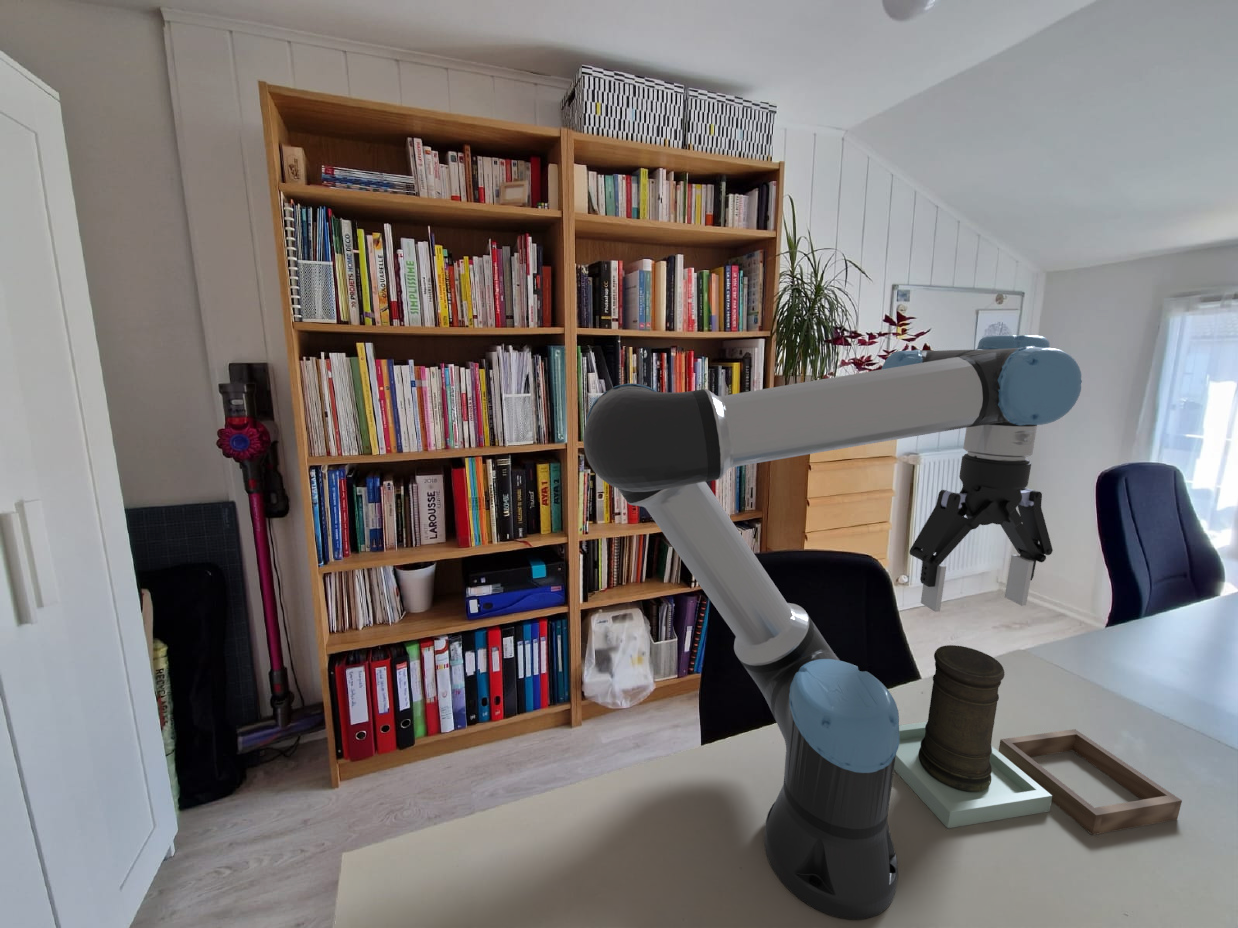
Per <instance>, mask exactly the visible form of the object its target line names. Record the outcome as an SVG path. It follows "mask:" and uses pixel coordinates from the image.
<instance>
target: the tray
mask: <svg viewBox="0 0 1238 928" xmlns="http://www.w3.org/2000/svg"><path fill="white" fill-rule="evenodd" d="M927 722H928V721H924V722H923V721H922V722H916V723H915V722H913V723H908V724H907V723H906V724H899V735H900V737H899V747H898V750H897V752H896V758H895V765H894V772H896V774H897V775H899V777H901V779H903V781H904V782H905V783H906V784H907V785H908V786H909V788H910V789H911V790H912V791H913V792H914V793H915V795H917V797H918V798H920V800H921V801H922V802H923V804H924V805H926V806H927V808H928V809H929V810H930V811H931V812H932V813H933V814H934V815H935V816H936V817H937V818H938V819H939V820H940V822H941V823H942V824H943V825H944V826H945V827H946V828H947V829H951V828H957V827H958V828H959V827H964V826H969V825H970V826H971V825H976V824H983V823H987V822H994V821H999V820H1007V819H1011V818H1017V817H1024V816H1029V815H1030V816H1031V815H1036V814H1041V813H1047V812H1050V810H1051V804H1052V801H1051V800H1052V795H1051V794H1050V793H1048V792H1047V791H1046V790H1045V789H1044V788H1042V787H1041V786H1040V785H1039V784H1038V783H1036V782H1035V781H1034V780H1033V779H1031V778H1030V777H1029V776H1028V775H1027V774H1025V773H1024V772H1023V771H1022V770H1020V769H1019V768H1018V767H1017V766H1016V765H1014V764H1013V763H1012V762H1011V761H1010V760H1008V759H1007V758H1006V757H1005V756H1003V755H1002V754H1001V753H1000V752H999V750H997V748H995V746H992V745H991V747H992V753H991V755H990V761H989V762H990V764H991V767H992V772H991V783H990V785H989V787H988V788H987V789H986V790H983V791H980V792H966V791H961V790H957V789H954V788H952V787H949V786H947V785H945V784H943V783H941V782H939V781H938V780H936V779H935V778H933V777H932V776H931V775H930V774H929V773H927V771H926V770H925V769H924V768H923V767H922V765H921V763H920V760H919V749H920V747H921V741H922V739H923V738H924V737H925V726H926V724H927Z"/></svg>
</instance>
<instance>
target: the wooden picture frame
mask: <svg viewBox="0 0 1238 928" xmlns="http://www.w3.org/2000/svg"><path fill="white" fill-rule="evenodd" d="M998 745H999V746H998V751H999V752H1000V753H1001V754H1002V755H1003V756H1005V757H1006V758H1007V759H1008V760H1010V761H1011V762H1012V763H1013V764H1014V765H1016V766H1017V767H1018V768H1019V769H1020V770H1022V771H1023V772H1024V773H1025V774H1027V775H1028V776H1029V777H1030V778H1031V779H1033V780H1034V781H1035V782H1036V783H1038V784H1039V785H1040V786H1041V787H1042V788H1044V789H1045V790H1046V791H1047V792H1048V793H1050V794H1051V795H1052V800H1051V803H1053V804H1054V805H1056V806H1057V807H1058V808H1059V809H1060V810H1061V811H1063V812H1064V813H1065V814H1066V815H1067V816H1069V817H1070V819H1072V820H1074V821H1075V822H1076V823H1077V824H1078V825H1080V826H1081V827H1082V828H1083V829H1084V830H1086V831H1087V832H1088V833H1089V834H1090V835H1092V836H1093V835H1098V834H1099V835H1100V834H1104V833H1109V832H1115V831H1120V830H1127V829H1131V828H1137V827H1143V826H1148V825H1154V824H1155V825H1156V824H1161V823H1166V822H1170V821H1176V820H1178V818H1179V814H1180V809H1181V806H1182V803H1183V800H1182V799H1181V798H1179V797H1178V796H1176V795H1175V794H1173V793H1172V792H1170V791H1169V790H1167V789H1165V788H1164V787H1162V786H1161V785H1160V784H1158V783H1157V782H1155V781H1154V780H1152V779H1151V778H1149V777H1148V776H1146V775H1145V774H1144V773H1142V772H1141V771H1138V770H1137V769H1135V768H1134V767H1133V766H1131V765H1129V764H1128V763H1126V762H1125V761H1123V759H1121V758H1119V757H1117V756H1116V755H1115V754H1113V753H1112V752H1110V751H1108V749H1106V748H1105V747H1103V746H1101V745H1100V744H1098V743H1097V742H1096V741H1094V740H1092V739H1091V738H1089V737H1087V735H1084V734H1083V733H1082V732H1080V731H1079V730H1077V729H1076V728H1075V729H1074V728H1073V729H1066V730H1060V731H1059V730H1058V731H1053V732H1052V731H1051V732H1044V733H1038V734H1030V735H1021V736H1014V737H1007V738H1000V739H999V744H998ZM1068 752H1074V753H1076V755H1078V756H1080V757H1081V758H1082V759H1084V760H1085V761H1087V762H1088V763H1090V765H1092V766H1094V767H1095V768H1097V769H1098V770H1100V771H1101V772H1102V773H1104V774H1105V775H1106V776H1108V778H1110V779H1112V780H1114V781H1115V782H1116V783H1117V784H1119V785H1120V786H1122V787H1123V788H1124V789H1126V790H1127V791H1129V792H1130V793H1132V794H1133V795H1134V796H1136V797H1138V799H1139V800H1133V801H1127V802H1122V803H1114V804H1109V805H1104V806H1103V805H1102V806H1097V807H1094V806H1093V805H1091V804H1090V803H1089V802H1088V801H1087V800H1085V799H1084V798H1082V797H1081V796H1080V795H1079V794H1078V793H1076V792H1075V791H1074V790H1072V789H1071V788H1070V787H1068V786H1067V785H1066V784H1065V783H1064V782H1062V781H1061V780H1060V779H1058V778H1057V777H1056V776H1055V775H1054V774H1052V773H1051V772H1050V771H1048V770H1047V769H1046V768H1044V767H1043V766H1042V765H1040V764H1039V763H1038V762H1037V761H1035V760H1034V759H1033V758H1034V757H1039V756H1046V755H1054V754H1058V753H1059V754H1060V753H1068ZM1032 757H1033V758H1032Z"/></svg>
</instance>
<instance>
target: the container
mask: <svg viewBox="0 0 1238 928" xmlns="http://www.w3.org/2000/svg"><path fill="white" fill-rule="evenodd" d="M933 657H934V661H935V662H934V666H935V671H934V674H933V676H932V681H933V683H932V688H931V693H930V694H931V695H930V702H929V703H930V704H929V709H928V718H927V721H926V722H927V724H926V726H925V737H924V738H923V739H922V741H921V747H920V749H919V760H920V763H921V765H922V767H923V768H924V769H925V770H926V771H927V773H929V774H930V775H931V776H932V777H933V778H935V779H936V780H938V781H939V782H941V783H943V784H945V785H947V786H949V787H952V788H954V789H957V790H961V791H966V792H980V791H983V790H986V789H987V788H988V787H989V785H990V783H991V772H992V767H991V764H990V762H989V761H990V755H991V753H992V747H991V746H992V739H993V731H994V726H995V720H996V719H995V718H996V714H997V707H998V701H999V698H1000V696H999V688H1000V686H1001V684H1002V681H1003V679H1004V678H1005V670H1004V667H1003V665H1002V664H1001V663H1000V661H999V660H997V659H996V658H994V657H993V656H991V655H990V654H988V653H985V652H983V651H981V650H977V649H975V648H971V647H967V646H962V645H956V644H955V645H954V644H953V645H952V644H949V645H941V646H940V647H938V648H937V649H936V650H935V651H934V654H933Z"/></svg>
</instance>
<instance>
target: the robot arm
mask: <svg viewBox="0 0 1238 928" xmlns="http://www.w3.org/2000/svg"><path fill="white" fill-rule="evenodd" d="M1082 382H1083V380H1082V371H1081V369H1080V366H1079V364H1078V363H1077V361H1076V360H1075V358H1073V356H1071V354H1069V353H1068V352H1066V351H1063V350H1061V349H1058V348H1055V347H1054V348H1052V347H1051V345H1050V342H1049V340H1048V339H1047V337H1044V336H1043V335H1036V334H1035V335H1031V334H1029V335H1026V334H1025V335H1019V334H1018V335H1014V334H1013V335H989V336H984V337H982V338H981V339H980V340H979V342H978V344H977V348H975V349H950V350H949V349H948V350H947V349H945V350H930V349H929V350H927V349H925V350H924V349H923V350H921V349H914V350H898V351H895V352H893V353H891V354H890V355H889V356H888V357H887V358H886V359H885V361H884V362H883V364H882V367H881V369H876V370H871V371H866V372H859V373H851V374H847V375H841V376H834V377H829V378H823V379H816V380H810V381H804V382H799V383H793V384H786V385H780V386H775V387H768V388H762V389H757V390H756V389H755V390H750V391H743V392H738V393H731V394H725V395H720V396H719V395H716V394H715V393H713V392H711V390H709V389H707V388H702V389H695V390H690V391H681V392H678V391H677V392H665V391H664V392H663V391H661V392H660V391H656V390H655V389H653V388H652V387H650V386H646V385H643V384H639V383H624V384H618V385H615V386H613V387H612V388H611V389H609V390H605V391H604V392H603V393H602V394H601V395H600V396H599V397H597V398H596V399H595V400H594V402H593V403H592V405H591V406H590V407H589V411H588V413H587V416H586V420H585V426H584V430H583V436H582V438H583V440H582V441H583V449H584V454H585V457H586V460H587V462H588V464H589V466H590V467H591V469H592V471H593V472H594V473H595V474H596V476H598V477H599V479H601V480H603V482H604V483H606V484H608V485H610V486H611V487H613V488H616V489H617V490H618V491H619V493H620V494H621V496H622V497H623V498H624V500H625V501H626V503H627V504H628V505H630V506H634V507H636V506H637V507H643V508H644V509H645V510H646V511H647V512H648V514H649V515H650V517H652V518H651V519H652V520H653V521H654V522H655V524H656V525H657V527H658V528H659V529H660V531H661V532H662V533H663V535H664V536H665V538H666V540H667V541H668V542H669V544H670V545H671V546H672V548H673V549H674V551H675V552H676V554H677V555H678V556H679V558H680V559H681V561H682V562H683V564H684V565H685V566H686V568H687V569H688V570H689V572H690V573H691V576H693V578H694V579H695V580H696V582H697V583H698V584H699V587H700V588H701V589H702V591H704V593H705V595H706V596H707V597H708V599H709V600H710V602H711V603H712V604H713V606H714V607H715V608H716V611H718V613H719V615H720V616H721V618H722V619H723V621H724V622H725V623H726V624H727V626H728V627H729V628H730V630H731V632H732V633H733V635H734V636H735V638H734V642H733V643H734V644H733V650H734V653H735V655H736V657H737V658H738V660H739V662H740V663H741V665H742V666H743V667H744V669H745V670H746V671H747V673H748V674H749V675H750V677H751V679H752V680H753V682H754V683H755V684H756V685H757V687H758V689H759V690H760V692H761V693H762V696H763V697H764V698H765V701H766V703H767V704H768V707H769V710H770V711H771V714H772V716H773V718H774V720H775V722H776V725H777V727H778V728H779V730H780V732H781V734H782V738H783V739H784V743H785V759H784V772H783V785H782V786H781V789H780V791H779V793H778V795H777V797H776V799H775V801H774V803H773V804H772V805H771V806H770V809H769V811H768V812H767V815H766V820H765V825H764V840H763V842H764V850H765V854H766V857H767V860H768V862H769V864H770V866H771V869H772V870H773V872H774V873H775V875H776V877H778V879H779V881H780V882H781V883H782V884H783V885H784V886H785V887H786V888H787V890H789V892H791V894H793V895H794V896H796V897H797V898H798V899H799V900H800V901H802V902H803V903H804V904H806V905H808V906H810V907H812V908H813V909H815V910H817V911H819V912H821V913H824V914H827V915H829V916H832V917H835V918H840V919H845V920H864V919H865V920H866V919H869V918H872V917H876V916H878V915H879V914H881V913H882V912H884V911H886V910H887V908H888V907H889V906H890V905H891V904H892V902H893V899H894V898H895V894H896V889H897V883H898V873H899V870H898V868H899V866H898V859H897V855H896V850H895V847H894V843H893V839H892V835H891V834H892V833H891V832H890V828H889V824H888V816H889V809H890V808H889V807H890V800H891V793H892V786H893V780H894V772H895V770H894V765H895V758H896V752H897V750H898V747H899V737H900V735H899V725H900V715H899V709H898V706H897V703H896V701H895V699H894V697H893V695H892V694H891V692H890V691H889V690H888V688H887V687H886V686H885V685H884V683H882V681H880V680H879V679H878V678H877V677H875V676H874V675H873V674H872V673H870V672H868V671H866V670H865V671H860V669H859V667H858V665H854V664H853V663H850V662H846V661H843V660H840V658H839V657H838V656H837V654H836V653H834V651H833V649H832V648H831V647H830V645H829V644H828V643H827V641H826V639H825V638H824V636H823V635H822V634H821V632H820V630H819V629H818V627H817V626H816V624H815V623H814V622H813V620H812V619H811V617H810V616H809V613H807V612H806V610H805V609H804V608H803V607H802V606H800V605H798V604H796V603H790V602H787V601H786V599H785V598H784V595H782V593H781V592H780V591H779V588H778V587H777V585H775V583H774V581H773V580H772V579H771V577H770V575H769V574H768V572H767V571H766V569H765V567H763V565H762V563H761V562H760V561H759V559H758V557H757V555H755V553H754V551H753V550H752V548H751V547H750V546H749V544H748V543H747V541H746V540H745V539H744V536H743V535H742V534H741V532H740V531H739V530H738V528H737V526H736V525H735V523H734V522H733V520H732V519H731V518H730V515H729V514H728V513H727V512H726V510H725V509H724V507H723V506H722V504H721V503H720V501H719V499H718V498H717V497H716V495H715V494H714V492H713V491H712V489H711V488H710V486H709V485H708V483H707V482H712V481H717V480H721V479H722V478H723V476H724V475H725V474H726V473H727V472H728V470H729V469H730V468H735V467H742V466H746V465H747V466H748V465H752V464H754V465H755V464H758V463H764V462H770V461H777V460H782V459H783V460H784V459H788V458H789V459H790V458H795V457H799V456H800V457H801V456H807V455H812V454H818V453H824V452H830V451H835V450H842V449H846V448H854V447H859V446H865V445H871V444H876V443H877V444H878V443H882V442H888V441H893V440H900V439H906V438H907V439H908V438H911V437H918V436H925V435H930V434H937V433H941V432H947V431H954V430H959V429H965V434H964V435H965V436H964V439H963V440H964V442H963V446H962V447H963V450H964V451H965V452H967V453H965V454H964V455H962V456H961V463H960V468H959V469H960V470H959V475H958V476H959V479H960V481H961V484H962V487H961V490H960V491H959V492H953V491H949V490H946V489H941V490H940V491H939V492H938V495H937V499H936V503H935V506H934V508H933V510H932V512H931V513H930V515H929V516H928V518H927V520H926V522H925V524H924V525H923V526H922V528H921V530H920V532H919V534H918V535H917V537H916V539H915V541H914V542H913V544H912V546H911V548H910V549H909V554H910V556H912V557H915V558H916V559H918V560H920V561H921V563H922V564H921V570H920V571H921V572H920V584H922V591H921V597H920V599H921V600H920V603H921V604H922V605H923V606H925V607H927V608H928V609H930V611H932V612H934V613H936V612H939V613H940V612H941V606H942V600H943V599H942V598H943V593H944V587H945V579H946V571H947V566H946V565H945V564H943V562H944V561H945V559H947V558H948V556H950V554H951V553H952V551H954V550H955V548H956V547H957V546H958V545H960V543H961V542H962V541H963V539H965V537H966V536H967V535H968V534H969V533H970V532H971V531H972V530H976V529H978V528H979V526H988V525H992V524H994V525H1000V527H1001V528H1002V529H1003V531H1004V534H1006V536H1007V538H1008V539H1009V541H1010V542H1011V544H1012V546H1013V547H1014V549H1015V550H1016V552H1017V554H1011V557H1010V563H1009V569H1008V574H1007V575H1008V576H1007V580H1006V581H1007V582H1006V586H1005V593H1004V598H1005V599H1008V600H1010V601H1012V602H1013V603H1015V604H1018V605H1020V606H1021V607H1022V606H1027V603H1028V596H1029V592H1030V591H1029V590H1030V587H1031V586H1030V585H1031V581H1032V580H1033V579H1034V575H1035V570H1036V564H1037V562H1038V563H1044V562H1045V561H1046V560H1047V556H1050V555H1052V554H1053V551H1054V550H1053V546H1052V542H1051V537H1050V535H1049V532H1048V528H1047V523H1046V520H1045V517H1044V513H1043V509H1042V500H1043V498H1042V497H1043V496H1042V495H1043V493H1042V491H1039V490H1036V489H1035V490H1034V489H1031V488H1027V487H1028V485H1029V480H1030V474H1031V467H1032V462H1031V461H1030V460H1029V459H1027V458H1028V457H1032V455H1033V451H1034V448H1035V447H1034V446H1035V443H1036V442H1035V440H1036V437H1037V435H1036V434H1037V428H1038V426H1043V425H1048V424H1050V423H1054V422H1057V421H1058V420H1060V419H1061V418H1063V417H1064V416H1065V415H1067V414H1068V413H1069V412H1070V411H1071V410H1072V408H1074V406H1075V405H1076V403H1077V401H1078V399H1079V397H1080V394H1081V392H1082Z"/></svg>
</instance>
